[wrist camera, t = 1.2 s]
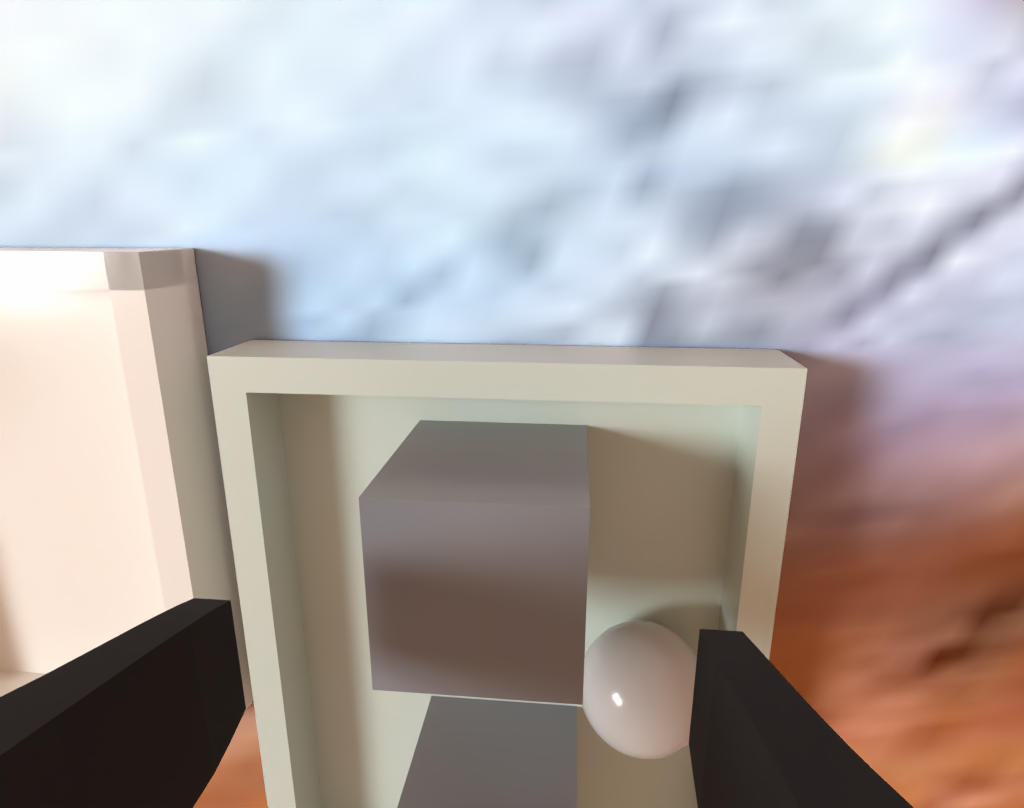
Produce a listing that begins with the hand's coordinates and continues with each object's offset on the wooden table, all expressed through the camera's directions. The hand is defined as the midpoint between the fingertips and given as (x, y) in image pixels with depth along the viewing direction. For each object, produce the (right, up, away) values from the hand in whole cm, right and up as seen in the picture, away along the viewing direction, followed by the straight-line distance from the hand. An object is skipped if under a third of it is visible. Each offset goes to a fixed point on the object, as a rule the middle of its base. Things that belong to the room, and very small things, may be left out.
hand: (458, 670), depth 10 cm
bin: (+1, -2, +8) cm, 8 cm away
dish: (-11, +2, +8) cm, 14 cm away
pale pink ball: (+4, -2, +7) cm, 8 cm away
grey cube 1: (+1, +2, +6) cm, 6 cm away
